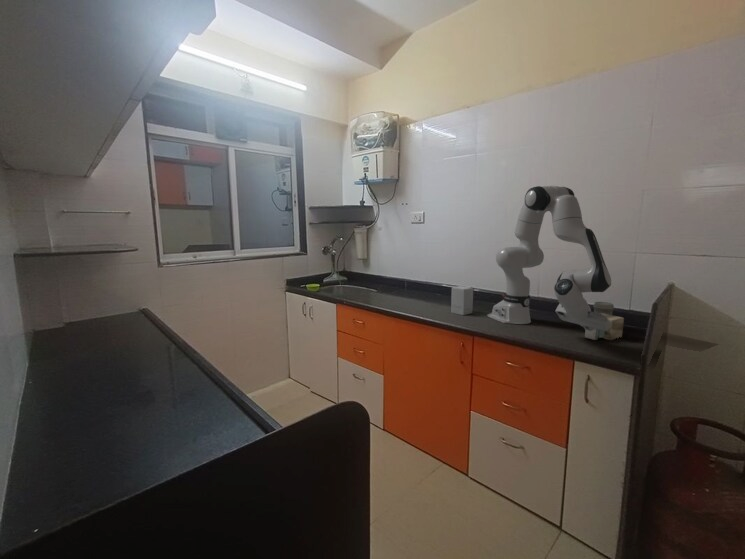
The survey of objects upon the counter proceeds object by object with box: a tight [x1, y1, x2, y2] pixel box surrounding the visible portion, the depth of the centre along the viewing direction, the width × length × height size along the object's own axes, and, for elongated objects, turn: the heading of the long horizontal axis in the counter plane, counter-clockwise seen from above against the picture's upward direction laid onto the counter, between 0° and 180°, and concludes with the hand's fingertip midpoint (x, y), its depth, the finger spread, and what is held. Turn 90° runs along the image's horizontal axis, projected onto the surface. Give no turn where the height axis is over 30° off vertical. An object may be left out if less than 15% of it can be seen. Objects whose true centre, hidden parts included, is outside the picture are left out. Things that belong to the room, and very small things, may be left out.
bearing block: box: [600, 313, 625, 341], centre depth 154 cm, size 10×9×9 cm
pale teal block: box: [598, 329, 605, 339], centre depth 151 cm, size 5×4×5 cm, turn 28°
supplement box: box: [450, 285, 474, 316], centre depth 196 cm, size 9×9×15 cm
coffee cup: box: [592, 301, 615, 315], centre depth 166 cm, size 8×9×12 cm
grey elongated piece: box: [584, 328, 599, 341], centre depth 153 cm, size 4×18×8 cm, turn 118°
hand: (589, 329), depth 148 cm, fingers closed
